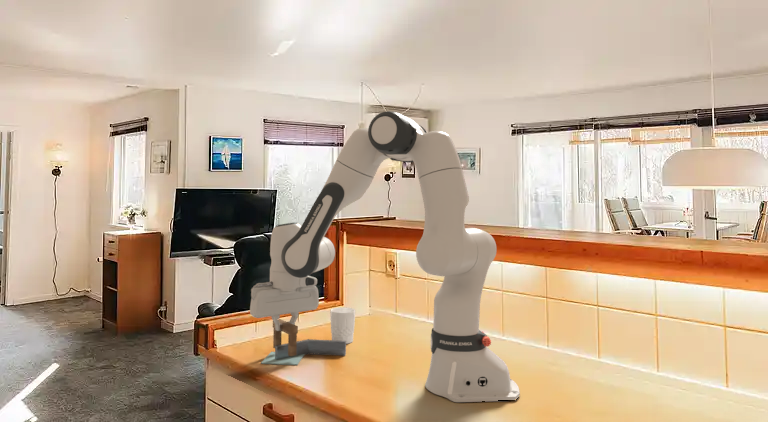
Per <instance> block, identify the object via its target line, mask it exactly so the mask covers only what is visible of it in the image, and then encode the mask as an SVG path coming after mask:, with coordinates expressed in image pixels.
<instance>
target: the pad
mask: <svg viewBox="0 0 768 422" xmlns="http://www.w3.org/2000/svg"><path fill="white" fill-rule="evenodd" d="M304 356H306V355H305V354H302V355H298V356H293V357H288V358H284V359H279V360H276V359H275V351H271V352H269V354H268V355H267V356H266V357H265V358H264V359H263V360H262V361H261V362H260V365H262V364H263V365H277V366H278V365H282V366H284V365H285V366H298V365H299V363H301V361H302V360H303V358H304Z"/></svg>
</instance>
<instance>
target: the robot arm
mask: <svg viewBox="0 0 768 422" xmlns="http://www.w3.org/2000/svg"><path fill="white" fill-rule="evenodd" d="M388 159H390V160H391V161H396V162H401V163H402V162H403V163H414V165H415V168H416V173H417V177H418V181H419V185H420V192H421V196H422V203H423V207H424V226H423V231H422V232H423V234H422V236H421V238H420V239H419V241H418V244H417V245H416V250H415V256H416V261H417V264H418V265H419V267H420V269H422V270H423V272H425V273H427V274H429V275H432V276H437V277H443V279H442V284H441V286H440V288H439V289H438V291H437V292H436V293H435V296H434V299H433V325H432V329H431V333H430V352H431V358H430V365H429V369H428V373H427V378H426V381H425V384H424V386H425V388H426V390H428V391H429V392H431V393H432V394H434V395H437V396H440V397H442V398H443V397H444V398H446V399H447V400H449V401H451V402H453V403H473V402H474V403H476V402H477V403H481V402H482V401H485V402H499V401H498V400H515V399H517V398H518V397H519V398H520V396H519V395H521V394H520V388H519V385H518V384H517V383H516V381H514V380H513V379H512V378H511V375H510V370H509V368H508V365H507V364H506V362H505V361H504V359H502V358H501V357H500V356H499V355H497V354H496V353H495V352H494V351H492V350H491V349H490V348H489V347H490V345H492V340H491V338H490V337H489V336H488V335H487V334H486V333H485V331H482V330H480V313H481V311H480V310H481V300H482V292H483V289H484V286H485V281H486V277H487V274H488V271H489V269H490V266H491V264H492V263H493V261H494V260H495V258H496V256H497V244H496V241H495V238H494V237H493V236H492V235H491V234H490V233H489V232H487V231H485V230H483V229H481V228H480V229H479V228H476V227H466V226H465V212H466V209H467V206H468V204H469V202H470V196H469V192H468V187H467V184H466V179H465V175H464V170H463V167H462V162H461V159H460V157H459V153H458V151H457V148H456V146H455V144H454V142H453V140H452V137H451V136H450V135H449V134H448V133H446V132H444V131H441V130H433V131H427V130H426V129H425V128H424V127H423V126H422V125H421V124H419V123H417V122H416V121H415V120H413V119H412V118H410V117H408V116H406V115H403V114H402V113H399V112H396V111H392V110H389V111H383V112H380V113H378V114H376V115H375V116H374V117H373V118H372V119H371V121H370V123H369V125H368V128H367V127H361V128H359V127H358V128H357V129H356V130H354V131H353V132H352V133H351V135H350V136H349V137H348V139H347V141H346V142H345V144H344V146H343V147H342V149H340V152H339V154H338V156H337V157H336V161H335V162H334V164H333V166H332V169H331V171H330V173H329V175H328V177H327V180H326V182H325V183H324V185H323V186H322V189H321V191H320V192H319V194H318V196H317V198H315V201H314V203H313V205H312V207H311V208H310V210H309V212H308V214H307V215H306V217H305V219H304V220H303V223H302V224H300V223H299V222H288V223H281V224H277V225H276V226H274V228H273V229H272V232H271V235H270V236H271V237H270V247H269V251H270V252H269V256H270V259H271V264H270V267H269V281H266V282H258V283H256V284H255V285H253V287H251V289H250V292H251V293H250V297H251V299H250V306H249V314H250V315H251V316H252V317H253V318H256V319H262V318H267V317H271V320H272V322H273V321H274V323H275V330H276V331H280V330H283V328H282V327H283V324H281V323H279V321H278V319H280V318H281V317H280V316H281V315H288V314H290V316H291V317H290V319H289V321H288V322H289V323H291V324H294V325H296V322H297V320H298V317H299V313H302V312H308V311H314V310H317V309H318V307H319V303H320V302H319V300H320V299H319V298H320V297H319V289H318V287H317V284H318V279H317V278H316V277H314V276H311V274H313V273H317V272H319V271H321V270H324V269H325V268H328V267H329V266H331V265H332V264H333V262H334V261H335V258H336V247H335V245H334V243H333V241H332V240H331V239H329V237H326V234H327V232H328V230H329V229H330V227H331V225H332V223H333V222H334V219H335V218H336V216H338V214H339V213H340V212H341V211H342V210H344V208H346V207H347V206H349V205H351V204H353V203H355V202H356V201H358V200H360V199H361V198H362V197H363V196H364V194H366V192H367V191H368V189H369V187H370V186H371V184H372V182H373V180H374V178H375V176H376V174H377V171H378V169H379V168H380V166H381V164H382V163H383V162H384V161H386V160H388ZM519 398H518V399H519ZM518 399H517V400H518ZM515 401H516V400H515Z"/></svg>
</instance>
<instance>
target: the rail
mask: <svg viewBox="0 0 768 422" xmlns="http://www.w3.org/2000/svg"><path fill="white" fill-rule="evenodd" d="M274 352H275V359H276V360H279V359H284V358H288V357H293V356H289V355H288V342H287V343H281V345H276V346H275V348H274ZM346 352H347V344H346V341H338V340H332V339H331V340H330V339H309V338H308V339H303V340H302V339H301V340H297V349H296V355H295V356H298V355H302V354H305V355H304V356H306V355H317V356H321V355H322V356H342V357H343V356H344V357H346V356H347V355H346V354H347V353H346Z"/></svg>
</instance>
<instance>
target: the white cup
mask: <svg viewBox="0 0 768 422" xmlns="http://www.w3.org/2000/svg"><path fill="white" fill-rule="evenodd" d="M355 319H356V309H355V308H352V307H345V306H344V307H341V306H339V307H334V308H331V309H330V333H331V340H338V341H346V345H347V344H352V343H353V342H354V333H355V322H356V321H355Z"/></svg>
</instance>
